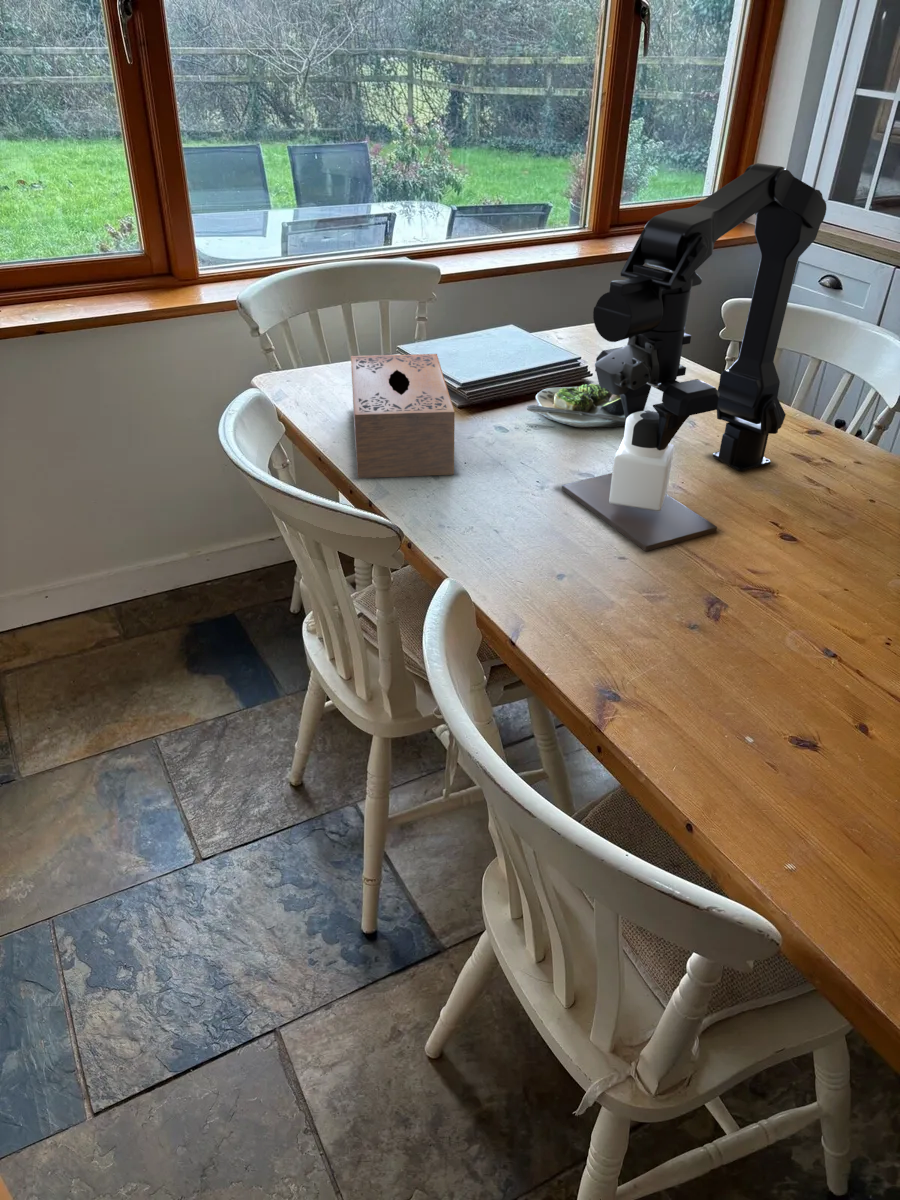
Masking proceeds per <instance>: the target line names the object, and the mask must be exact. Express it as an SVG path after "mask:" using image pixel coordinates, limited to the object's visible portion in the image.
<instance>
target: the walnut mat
mask: <svg viewBox="0 0 900 1200" xmlns="http://www.w3.org/2000/svg"><path fill="white" fill-rule="evenodd" d="M611 481H612V472H611V473H606V474H604V475H603V474H602V475H598V476H594V477H590V478H586V479H581V480H577V481H572V482H569V483H564V484H561V491H563V492H564V493H565V494H567V495H568V496H569V497H571V498H572V499H574V500H575V501H576V502H577V503H579V504H580V505H582V506H583V507H585V508H586V509H587V510H588V511H590V512H592V514H594V515H595V516H597V518H600V519H601V520H602V521H603V522H605V523H606V524H608V525H609V526H611V527H612V528H613V529H614V530H616V531H617V532H619V533H620V534H621V535H623V537H626V538H627V539H628V540H629V541H630V542H632V543H634V544H635V545H636V546H638V547H639V548H640V549H642V550H643V551H644V552H649V551H652V550H656V549H660V548H662V547H666V546H670V545H673V544H677V543H681V542H684V541H688V540H691V539H695V538H699V537H702V536H706V535H710V534H714V533H716V532H717V531H718V526H717V525H715V524H714V523H712V522H711V521H709V520H708V519H706V518H704V517H703V516H702V515H700V514H698V513H697V512H695V511H694V510H692V509H690V508H689V507H687V506H686V505H684V504H682V503H681V502H680V501H679V500H676V499H675V498H674V497H672V496H670V495H669V494H667V493H666V495H665V499H664V502H663V505H662V508H661V510H660V511H654V510H648V509H641V508H635V507H629V506H623V505H617V504H611V503H610V502H609V497H610V489H611Z"/></svg>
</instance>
